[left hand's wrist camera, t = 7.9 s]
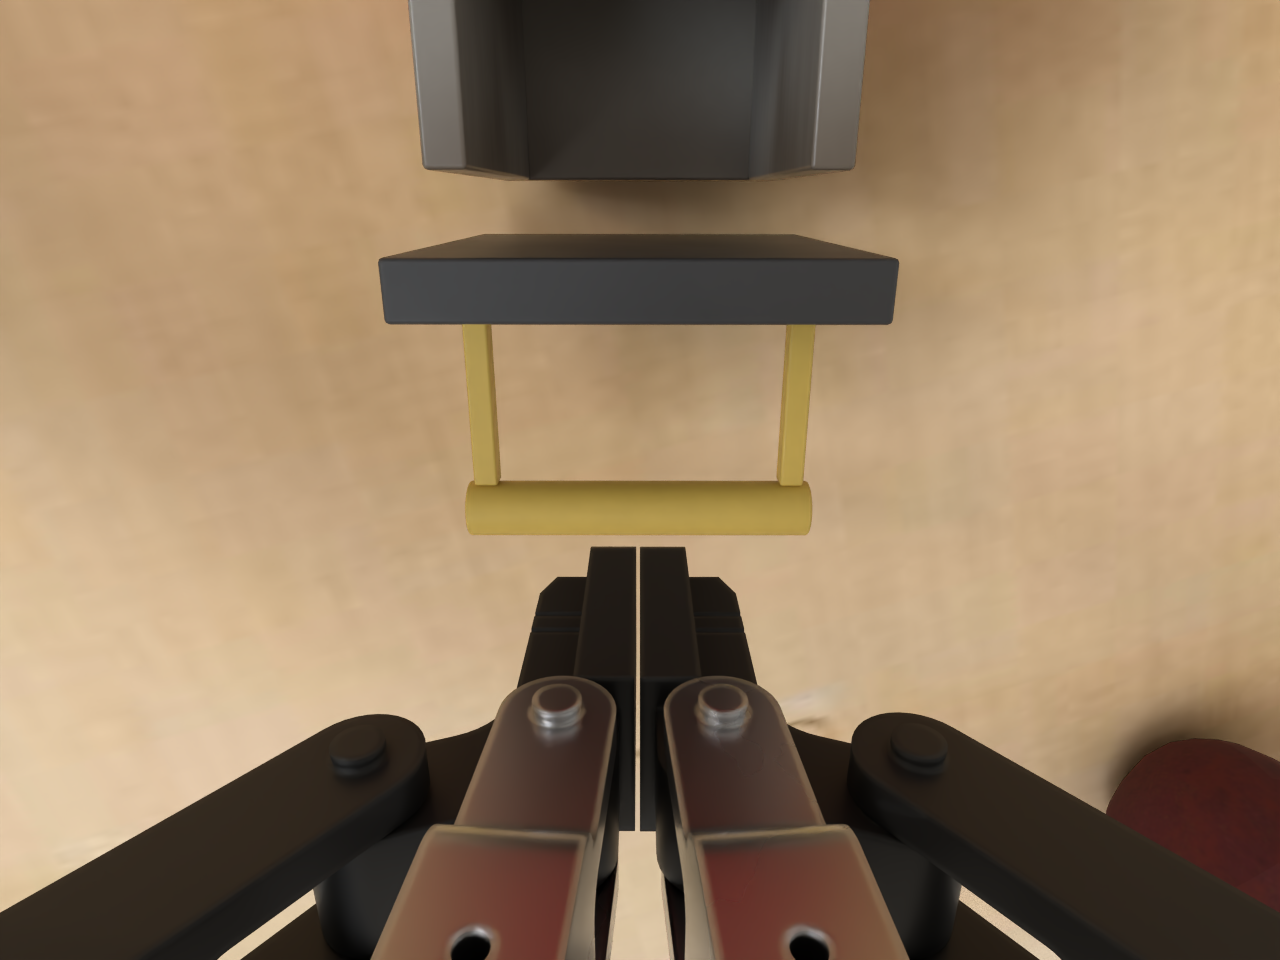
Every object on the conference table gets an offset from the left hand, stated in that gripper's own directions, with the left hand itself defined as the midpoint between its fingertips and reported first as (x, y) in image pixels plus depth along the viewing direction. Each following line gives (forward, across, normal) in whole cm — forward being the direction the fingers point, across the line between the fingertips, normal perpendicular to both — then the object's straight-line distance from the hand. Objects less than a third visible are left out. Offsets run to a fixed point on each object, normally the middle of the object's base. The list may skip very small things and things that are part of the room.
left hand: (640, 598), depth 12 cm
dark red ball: (+15, +22, -17) cm, 31 cm away
